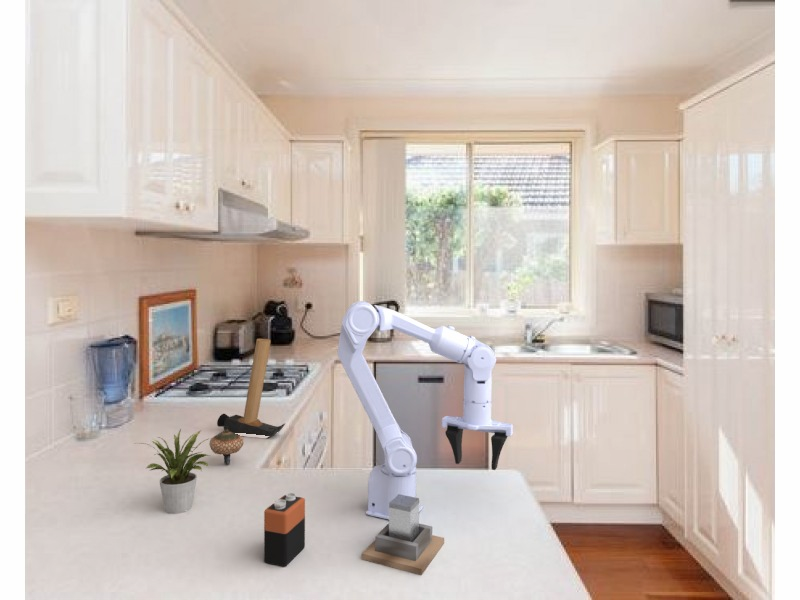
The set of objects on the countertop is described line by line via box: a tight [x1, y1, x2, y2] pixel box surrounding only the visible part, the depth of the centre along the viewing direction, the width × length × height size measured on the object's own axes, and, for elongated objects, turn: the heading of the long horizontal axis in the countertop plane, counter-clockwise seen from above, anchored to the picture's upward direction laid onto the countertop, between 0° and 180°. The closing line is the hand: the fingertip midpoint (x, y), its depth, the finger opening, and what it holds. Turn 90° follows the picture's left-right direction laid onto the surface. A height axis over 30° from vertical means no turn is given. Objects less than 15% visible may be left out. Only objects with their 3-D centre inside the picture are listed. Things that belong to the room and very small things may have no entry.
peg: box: [388, 494, 420, 542], centre depth 89 cm, size 4×4×8 cm
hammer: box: [216, 338, 286, 438], centre depth 154 cm, size 20×5×30 cm, turn 75°
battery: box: [263, 492, 306, 567], centre depth 87 cm, size 4×7×10 cm, turn 162°
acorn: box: [209, 427, 245, 466], centre depth 129 cm, size 8×8×10 cm
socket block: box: [361, 522, 445, 576], centre depth 89 cm, size 11×11×4 cm
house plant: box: [133, 428, 212, 515], centre depth 103 cm, size 14×14×16 cm
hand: (476, 465), depth 105 cm, fingers open, 7 cm apart
